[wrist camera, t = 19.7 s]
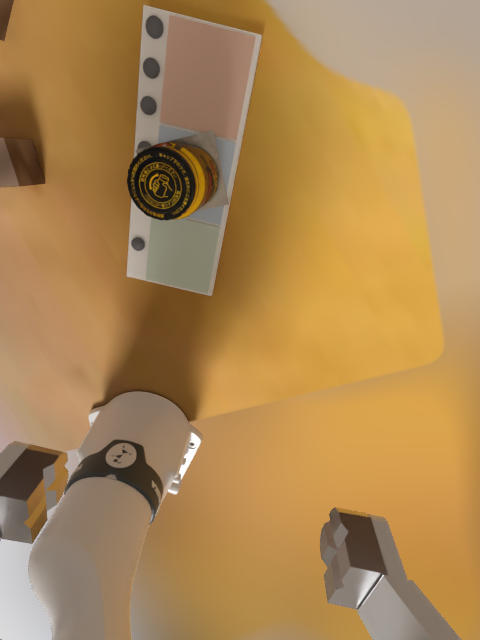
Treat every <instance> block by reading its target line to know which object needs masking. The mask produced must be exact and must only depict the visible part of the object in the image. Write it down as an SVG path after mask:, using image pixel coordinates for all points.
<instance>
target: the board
mask: <svg viewBox="0 0 480 640" xmlns="http://www.w3.org/2000/svg"><path fill="white" fill-rule="evenodd" d="M261 42H262V35H260V34H256V33H252V32H248V31H245V30H241V29H237V28H233V27H229V26H225V25H221V24H217V23H213V22H209V21H205V20H201V19H197V18H193V17H190V16H186V15H182V14H178V13H174V12H170V11H166V10H162V9H158V8H154V7H150V6H146V5H143V19H142V35H141V51H140V68H139V84H138V100H137V116H136V133H135V149H134V158H135V157H136V156H137V153H136V150H137V149H141V148H144V147H148V146H152V145H156V144H159V143H164V142H168V141H172V140H176V139H180V138H184V137H188V136H192V135H196V134H200V133H203V132H207V131H211V130H213V132H214V137H215V141H216V146H217V150H218V155H219V159H220V164H221V168H222V173H223V178H224V182H225V187H226V192H227V197H228V201H229V204H228V205H223V206H219V207H214V208H209V209H205V210H200V211H196V212H194V213H192V214H191V215H189V216H188V217H185V218H182V219H178V220H172V219H171V220H168V221H166V220H158V219H154V218H152V217H149V216H146V215H145V214H144V213H143V212H142V211H141V210H140V209H139V208H138V207H137V206H136V205H135V203H134V202H133V200H132V198H131V214H130V230H129V246H128V262H127V277H132V278H136V279H140V280H144V281H149V282H153V283H157V284H161V285H166V286H170V287H174V288H178V289H183V290H187V291H191V292H195V293H200V294H204V295H208V296H212V294H213V289H214V284H215V279H216V274H217V269H218V264H219V259H220V253H221V248H222V243H223V238H224V233H225V228H226V223H227V217H228V212H229V207H230V202H231V197H232V192H233V187H234V181H235V176H236V171H237V166H238V161H239V156H240V150H241V145H242V140H243V135H244V130H245V125H246V120H247V114H248V109H249V104H250V99H251V94H252V89H253V84H254V78H255V73H256V68H257V63H258V58H259V53H260V48H261Z"/></svg>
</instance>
